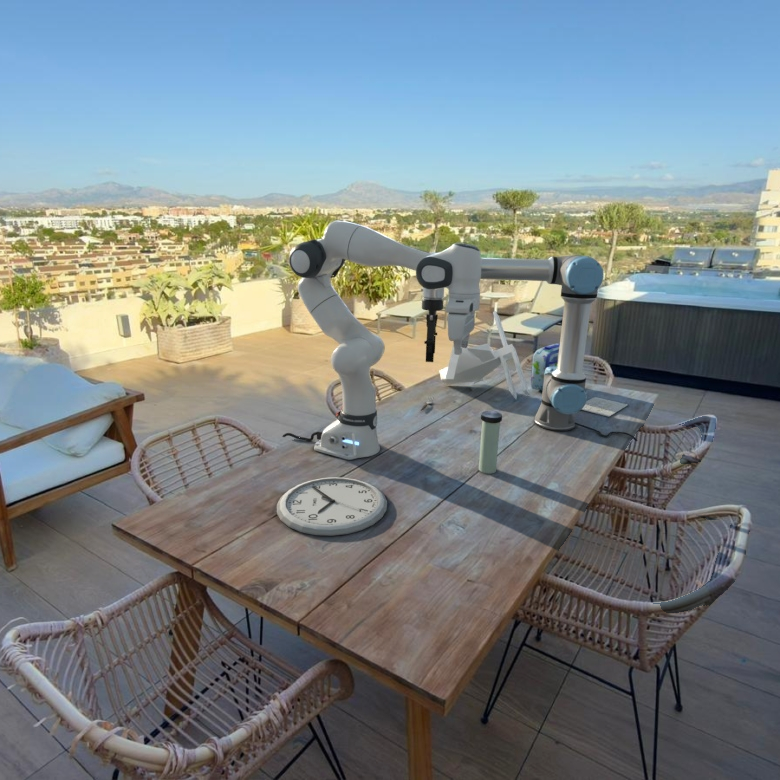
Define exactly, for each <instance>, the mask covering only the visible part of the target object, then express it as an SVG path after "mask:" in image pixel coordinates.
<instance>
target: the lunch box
mask: <svg viewBox="0 0 780 780" xmlns="http://www.w3.org/2000/svg"><path fill="white" fill-rule="evenodd" d="M559 346H560V343H553V344H550V345H547V346H546V345H545V346H544V347H541V348H538V349H537V350H536V351H535V352H534V354H533V357H532V362H531V371H530V372H531V374H530V387H531V389H533V390H539V391H543V382H544V373H545V369H546V368H547V367H553V366H557V364H558V355H559Z"/></svg>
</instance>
